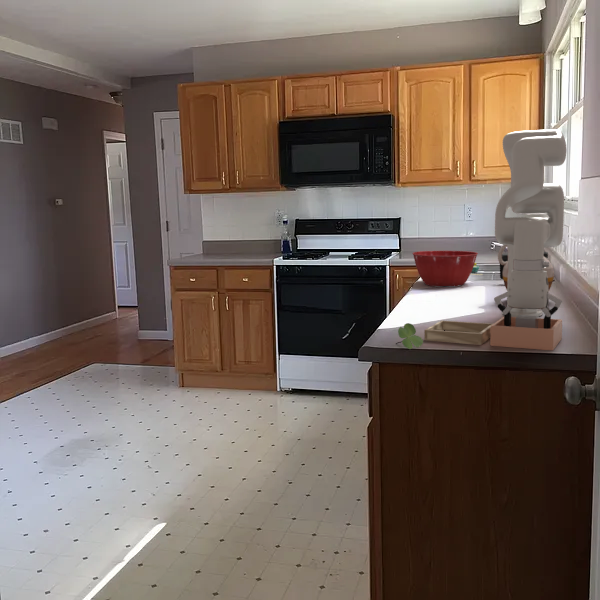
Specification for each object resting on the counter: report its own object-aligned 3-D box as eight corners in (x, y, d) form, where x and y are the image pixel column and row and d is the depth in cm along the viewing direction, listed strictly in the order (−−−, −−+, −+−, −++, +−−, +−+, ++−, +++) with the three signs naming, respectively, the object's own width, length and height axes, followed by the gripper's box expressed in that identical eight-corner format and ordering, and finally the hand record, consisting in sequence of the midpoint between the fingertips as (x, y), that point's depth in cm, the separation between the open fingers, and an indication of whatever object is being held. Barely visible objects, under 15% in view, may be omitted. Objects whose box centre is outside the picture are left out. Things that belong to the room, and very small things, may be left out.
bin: (503, 334, 186) (503, 316, 186) (561, 338, 179) (562, 319, 178) (490, 345, 173) (490, 325, 172) (553, 350, 165) (553, 329, 164)
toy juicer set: (441, 272, 353) (441, 258, 352) (475, 272, 351) (475, 257, 350) (445, 279, 325) (445, 263, 324) (483, 278, 323) (483, 262, 322)
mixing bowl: (482, 283, 300) (482, 250, 297) (471, 292, 274) (471, 255, 272) (421, 282, 311) (421, 250, 309) (405, 290, 285) (405, 254, 283)
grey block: (518, 336, 179) (519, 315, 178) (538, 338, 177) (538, 316, 176) (515, 340, 175) (515, 318, 174) (534, 341, 172) (535, 319, 171)
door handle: (548, 286, 281) (548, 249, 279) (500, 288, 286) (499, 251, 284) (547, 285, 284) (547, 248, 282) (499, 287, 289) (498, 251, 287)
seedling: (406, 362, 177) (421, 353, 171) (382, 348, 175) (395, 339, 170) (411, 341, 181) (425, 331, 176) (387, 327, 179) (401, 317, 174)
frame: (441, 330, 195) (441, 320, 195) (494, 334, 187) (494, 323, 187) (424, 340, 182) (424, 330, 181) (481, 344, 174) (481, 333, 174)
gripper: (565, 265, 172) (563, 329, 174) (497, 264, 180) (497, 325, 183) (561, 268, 165) (559, 334, 168) (491, 266, 174) (490, 330, 176)
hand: (526, 329), depth 175 cm, fingers open, 9 cm apart
